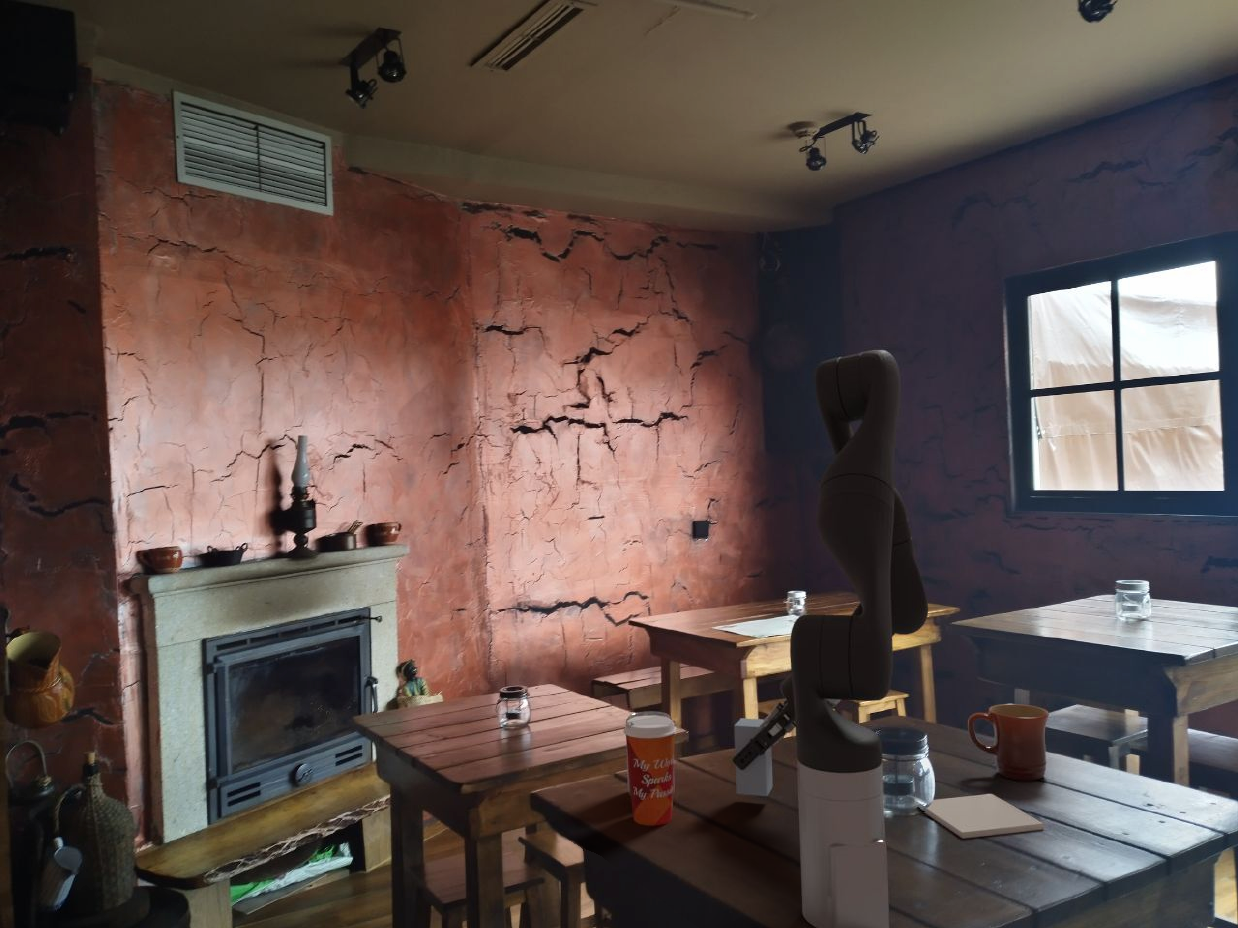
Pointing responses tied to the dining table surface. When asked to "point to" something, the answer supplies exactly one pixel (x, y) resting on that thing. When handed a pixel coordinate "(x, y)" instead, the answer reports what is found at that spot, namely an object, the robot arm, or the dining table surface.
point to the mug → (1015, 740)
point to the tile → (981, 816)
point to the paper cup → (651, 768)
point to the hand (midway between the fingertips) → (741, 759)
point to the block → (760, 769)
